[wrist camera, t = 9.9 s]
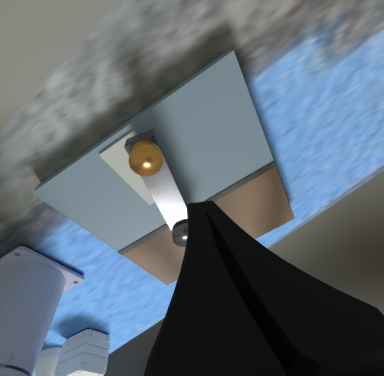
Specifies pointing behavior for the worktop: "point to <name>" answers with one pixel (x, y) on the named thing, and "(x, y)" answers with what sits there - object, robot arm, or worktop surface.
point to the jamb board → (234, 207)
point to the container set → (76, 356)
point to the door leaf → (175, 152)
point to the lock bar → (159, 181)
